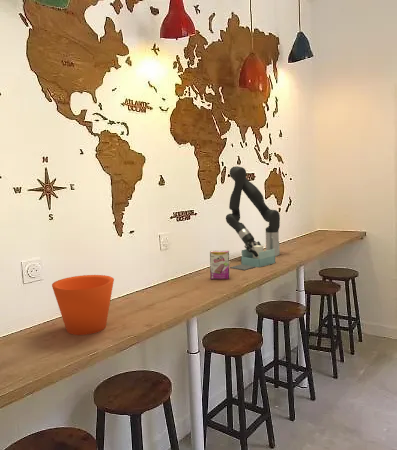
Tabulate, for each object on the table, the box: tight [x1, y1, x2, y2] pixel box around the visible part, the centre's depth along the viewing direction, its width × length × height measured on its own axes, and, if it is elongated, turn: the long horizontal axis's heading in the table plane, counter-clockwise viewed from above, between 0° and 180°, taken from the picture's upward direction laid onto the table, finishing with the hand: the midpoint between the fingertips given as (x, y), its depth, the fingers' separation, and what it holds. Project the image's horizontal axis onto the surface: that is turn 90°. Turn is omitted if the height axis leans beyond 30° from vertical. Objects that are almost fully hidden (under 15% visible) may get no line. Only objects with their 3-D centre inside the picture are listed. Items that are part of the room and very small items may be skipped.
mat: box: [229, 263, 256, 271], centre depth 298 cm, size 11×12×1 cm
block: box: [253, 244, 264, 259], centre depth 308 cm, size 5×5×12 cm
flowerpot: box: [51, 274, 115, 336], centre depth 192 cm, size 25×25×20 cm
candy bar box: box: [209, 249, 231, 280], centre depth 271 cm, size 11×5×16 cm, turn 84°
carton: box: [240, 248, 276, 268], centre depth 308 cm, size 17×15×10 cm
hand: (260, 255), depth 307 cm, fingers open, 5 cm apart
